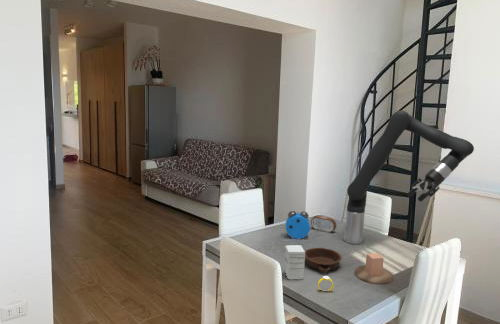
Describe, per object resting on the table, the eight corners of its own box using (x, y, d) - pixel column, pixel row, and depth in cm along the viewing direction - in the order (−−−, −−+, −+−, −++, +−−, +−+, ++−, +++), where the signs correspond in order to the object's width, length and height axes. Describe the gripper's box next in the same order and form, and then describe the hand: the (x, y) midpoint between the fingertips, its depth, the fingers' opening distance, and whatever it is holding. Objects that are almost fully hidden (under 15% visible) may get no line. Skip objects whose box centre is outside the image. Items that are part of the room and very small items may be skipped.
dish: (303, 274, 166) (304, 263, 165) (302, 254, 188) (302, 244, 187) (344, 277, 164) (344, 266, 163) (338, 256, 186) (338, 246, 185)
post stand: (350, 277, 163) (351, 262, 162) (360, 264, 177) (361, 250, 176) (388, 287, 155) (390, 271, 154) (396, 273, 169) (397, 258, 168)
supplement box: (283, 272, 167) (285, 245, 165) (300, 272, 168) (301, 244, 165) (286, 280, 160) (288, 251, 158) (304, 279, 160) (305, 251, 158)
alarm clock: (308, 236, 213) (309, 210, 210) (309, 240, 206) (310, 213, 204) (285, 234, 213) (286, 209, 211) (285, 238, 207) (286, 212, 205)
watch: (331, 290, 153) (333, 276, 152) (333, 293, 150) (335, 279, 149) (316, 288, 153) (318, 275, 152) (317, 292, 150) (319, 278, 149)
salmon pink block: (370, 276, 163) (372, 258, 162) (365, 270, 168) (366, 253, 167) (382, 275, 164) (383, 258, 163) (376, 270, 169) (377, 253, 168)
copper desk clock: (336, 232, 219) (337, 218, 218) (334, 234, 217) (335, 220, 215) (311, 227, 227) (312, 214, 226) (309, 228, 225) (310, 215, 223)
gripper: (424, 165, 185) (400, 189, 185) (443, 171, 171) (417, 196, 171) (433, 176, 187) (409, 199, 187) (453, 182, 173) (427, 207, 173)
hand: (413, 198), depth 179 cm, fingers open, 8 cm apart
